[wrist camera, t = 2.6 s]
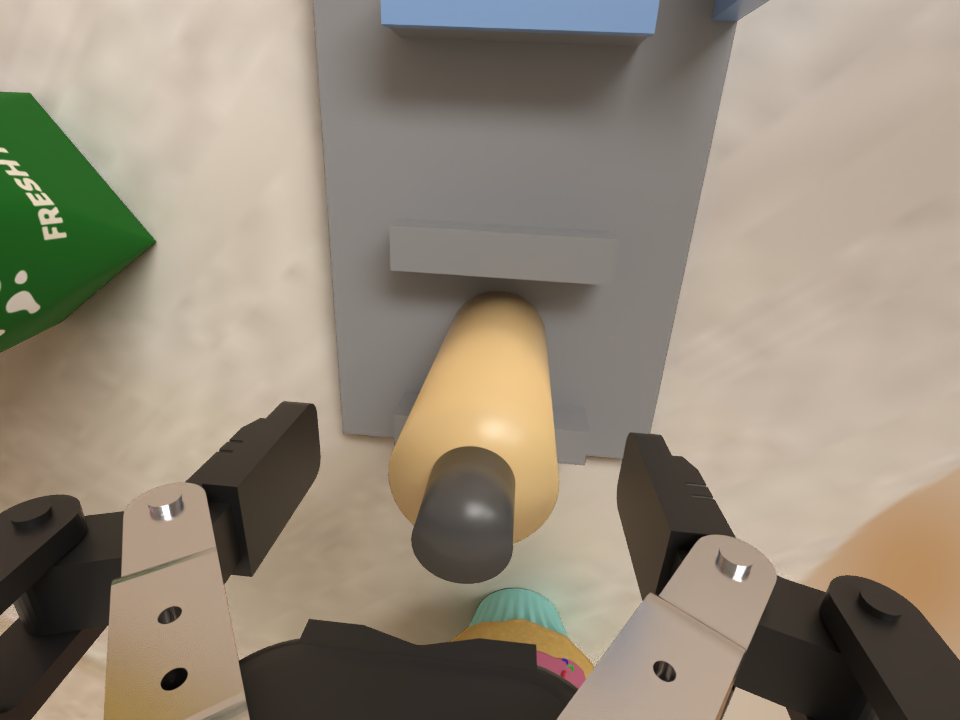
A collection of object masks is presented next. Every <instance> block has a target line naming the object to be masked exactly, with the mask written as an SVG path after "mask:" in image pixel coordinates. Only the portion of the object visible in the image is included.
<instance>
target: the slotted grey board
mask: <svg viewBox="0 0 960 720" xmlns="http://www.w3.org/2000/svg"><path fill="white" fill-rule="evenodd" d="M767 1H769V0H313V8H314V22H315V37H316V51H317V65H318V80H319V94H320V108H321V123H322V137H323V151H324V166H325V180H326V194H327V209H328V223H329V237H330V252H331V266H332V280H333V295H334V309H335V323H336V338H337V352H338V366H339V381H340V395H341V409H342V424H343V433H347V434H358V435H369V436H379V437H390V438H394V446H395V445H396V442H397V440H398V438H399V436H400V434H401V432H402V430H403V427H404V425H405V423H406V421H407V419H408V417H409V414H410V412H411V410H412V408H413V406H414V404H415V401H416V399H417V397H418V395H419V393H420V391H421V389H422V386H423V384H424V382H425V380H426V378H427V376H428V373H429V371H430V369H431V367H432V365H433V363H434V361H435V358H436V356H437V354H438V352H439V350H440V348H441V345H442V343H443V341H444V339H445V337H446V335H447V333H448V330H449V328H450V326H451V324H452V322H453V320H454V317H455V316H456V314H457V312H458V311H459V309H460V308H461V307H462V306H463V305H464V304H465V303H466V302H467V301H468V300H470V299H471V298H473V297H475V296H476V295H479V294H481V293H485V292H490V291H505V292H510V293H513V294H516V295H518V296H520V297H522V298H524V299H526V300H527V301H528V302H529V303H531V304H532V305H533V306H534V307H535V309H536V310H537V311H538V313H539V314H540V316H541V318H542V320H543V323H544V326H545V332H546V343H547V354H548V365H549V376H550V387H551V398H552V409H553V420H554V431H555V442H556V453H557V463H564V464H574V465H585V459H586V456H597V457H608V458H619V459H623V454H624V449H625V444H626V439H627V436H628V434H629V433H630V432H634V433H645V434H650V431H651V427H652V422H653V417H654V413H655V408H656V403H657V398H658V394H659V389H660V384H661V379H662V375H663V370H664V365H665V360H666V356H667V351H668V346H669V342H670V337H671V332H672V327H673V323H674V318H675V313H676V308H677V304H678V299H679V294H680V289H681V285H682V280H683V275H684V271H685V266H686V261H687V256H688V252H689V247H690V242H691V237H692V233H693V228H694V223H695V219H696V214H697V209H698V204H699V200H700V195H701V190H702V185H703V181H704V176H705V171H706V166H707V162H708V157H709V152H710V148H711V143H712V138H713V133H714V129H715V124H716V119H717V114H718V110H719V105H720V100H721V95H722V91H723V86H724V81H725V77H726V72H727V67H728V62H729V58H730V53H731V48H732V43H733V39H734V34H735V29H736V24H737V21H738V20H739V19H741V18H743V17H744V16H746V15H747V14H749V13H750V12H752V11H753V10H755V9H756V8H758V7H760V6H761V5H763V4H764V3H766V2H767Z"/></svg>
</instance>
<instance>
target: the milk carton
mask: <svg viewBox="0 0 960 720" xmlns="http://www.w3.org/2000/svg"><path fill="white" fill-rule="evenodd" d="M155 242H156V241H155V240H154V238H153V237H152V236H151V235H150V234H149V233H148V231H147V230H146V229H145V228H144V227H143V226H142V224H141V223H140V222H139V221H138V220H137V218H136V217H135V216H134V215H133V214H132V213H131V211H130V210H129V209H128V208H127V207H126V206H125V204H124V203H123V202H122V201H121V200H120V198H119V197H118V196H117V195H116V194H115V193H114V191H113V190H112V189H111V188H110V187H109V186H108V184H107V183H106V182H105V181H104V180H103V178H102V177H101V176H100V175H99V174H98V173H97V171H96V170H95V169H94V168H93V167H92V166H91V164H90V163H89V162H88V161H87V160H86V158H85V157H84V156H83V155H82V154H81V153H80V151H79V150H78V149H77V148H76V147H75V146H74V144H73V143H72V142H71V141H70V140H69V139H68V137H67V136H66V135H65V134H64V133H63V131H62V130H61V129H60V128H59V127H58V126H57V124H56V123H55V122H54V121H53V120H52V119H51V117H50V116H49V115H48V114H47V113H46V111H45V110H44V109H43V108H42V107H41V106H40V104H39V103H38V102H37V101H36V100H35V99H34V97H33V96H32V95H31V94H30V93H16V92H0V352H2V351H4V350H6V349H8V348H10V347H12V346H14V345H16V344H18V343H20V342H22V341H24V340H26V339H28V338H30V337H32V336H34V335H36V334H38V333H40V332H42V331H44V330H46V329H48V328H50V327H52V326H54V325H56V324H58V323H61V322H62V321H63V320H64V319H65V318H67V317H68V316H69V315H70V314H71V313H72V312H74V311H75V310H76V309H77V308H78V307H80V306H81V305H82V304H83V303H84V302H85V301H87V300H88V299H89V298H90V297H91V296H92V295H94V294H95V293H96V292H97V291H98V290H100V289H101V288H102V287H103V286H104V285H105V284H107V283H108V282H109V281H110V280H111V279H113V278H114V277H115V276H116V275H117V274H118V273H120V272H121V271H122V270H123V269H124V268H126V267H127V266H128V265H129V264H130V263H131V262H133V261H134V260H135V259H136V258H137V257H139V256H140V255H141V254H142V253H143V252H144V251H146V250H147V249H148V248H149V247H150V246H152V245H153V244H154V243H155Z"/></svg>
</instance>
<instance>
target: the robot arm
mask: <svg viewBox="0 0 960 720" xmlns="http://www.w3.org/2000/svg"><path fill="white" fill-rule="evenodd" d="M320 458H321V456H320V443H319V431H318V419H317V410H316V407H315V405H314V404H310V403H299V402H287V401H284V402H282V403H281V404H280V405H279V406H278V407H277V408H276V409H275V410H274V411H273V412H272V413H271V414H270V415H269V416H268V417H267V418H266V419H265V418H260V419H258V420H256V421H254V422H252V423H250V424H248V425H246V426H244V427H242V428H241V429H240V430H239V431H238V432H237V433H236V434H235V435H234V436H233V437H232V438H231V439H230V441H229V442H227V443H226V444H225V445H223V446H222V447H221V448H220V450H219V452H216V453H215V454H214V455H213V456H212V457H211V458H210V459H209V460H208V461H207V462H206V463H205V464H204V465H203V466H202V467H201V468H200V469H198V470H197V471H196V472H195V473H194V474H193V475H192V476H191V477H190V478H189V479H188V480H187V481H186V482H185V483H172V484H167V485H163V486H160V487H157V488H154V489H151V490H149V491H147V492H145V493H143V494H142V495H140V496H138V497H137V498H136V499H134V500H133V501H132V502H131V503H130V504H129V505H128V506H127V508H126V509H125V511H123V512H114V513H106V514H97V515H89V516H84V514H83V511H82V508H81V505H80V502H79V500H78V499H77V498H75V497H73V496H69V495H49V496H44V497H39V498H35V499H32V500H28V501H25V502H23V503H20V504H18V505H16V506H13V507H11V508H9V509H7V510H6V511H4V512H2V513H1V514H0V615H1V614H2V613H3V612H4V611H5V610H6V609H7V608H9V607H10V606H11V605H12V604H14V606H15V608H16V611H17V613H18V615H19V618H18V619H17V620H16V621H15V622H14V623H13V624H12V625H11V626H10V627H9V628H8V629H7V630H6V631H5V632H4V633H3V634H2V635H1V636H0V720H31V719H32V718H33V716H34V715H35V714H36V713H37V711H38V710H39V709H40V708H41V706H42V705H43V704H44V703H45V702H46V700H47V699H48V698H49V697H50V695H51V694H52V693H53V692H54V691H55V689H56V688H57V687H58V686H59V684H60V683H61V682H62V681H63V680H64V678H65V677H66V676H67V675H68V673H69V672H70V671H71V670H72V669H73V667H74V666H75V665H76V664H77V662H78V661H79V660H80V659H81V657H82V656H83V655H84V654H85V653H86V651H87V650H88V649H89V648H90V646H91V645H92V644H93V643H94V642H95V640H96V639H97V638H98V637H99V635H100V634H101V633H102V632H103V631H104V629H105V628H106V627H107V625H109V631H108V650H107V668H106V686H105V704H104V720H722V719H723V717H724V714H725V712H726V709H727V707H728V705H729V703H730V700H731V698H732V695H733V693H734V691H735V688H736V687H738V688H740V689H743V690H745V691H748V692H750V693H753V694H755V695H758V696H760V697H762V698H765V699H767V700H770V701H772V702H775V703H777V704H779V705H782V706H784V707H786V709H787V711H788V713H789V716H790V718H791V720H960V660H959V659H958V658H957V657H956V655H955V654H954V653H953V652H952V650H951V649H950V648H949V647H948V646H947V644H946V643H945V642H944V640H943V639H942V638H941V637H940V635H939V634H938V633H937V632H936V631H935V629H934V628H933V627H932V626H931V624H930V623H929V622H928V621H927V619H926V618H925V617H924V616H923V614H922V613H921V612H920V611H919V610H918V609H917V608H916V607H915V606H914V605H913V604H912V603H911V602H909V601H908V600H907V599H905V598H904V597H903V596H901V595H900V594H898V593H897V592H895V591H893V590H892V589H890V588H888V587H886V586H884V585H882V584H880V583H877V582H875V581H872V580H869V579H866V578H863V577H858V576H850V575H849V576H848V575H846V576H839V577H836V578H835V579H833V580H832V581H831V582H830V585H829V587H828V589H827V592H823V591H820V590H817V589H814V588H811V587H808V586H805V585H802V584H799V583H795V582H792V581H789V580H787V579H784V578H782V577H779V576H777V575H776V571H775V568H774V567H773V565H772V563H771V562H770V561H769V559H768V558H767V557H766V556H765V555H764V554H763V553H761V552H760V551H759V550H758V549H756V548H754V547H753V546H751V545H750V544H748V543H746V542H744V541H741V540H739V539H736V537H735V535H734V534H733V532H732V530H731V528H730V526H729V525H728V523H727V521H726V519H725V517H724V516H723V514H722V512H721V510H720V508H719V507H718V505H717V503H716V501H715V500H714V499H713V496H712V494H711V492H710V491H709V489H708V487H706V483H705V482H704V480H703V478H702V476H701V474H700V473H699V471H698V470H697V469H696V468H695V467H694V466H693V465H692V464H690V463H689V462H688V461H687V460H686V459H684V458H683V457H681V456H672V455H671V453H670V451H669V449H668V447H667V445H666V443H665V441H664V439H663V437H662V436H661V435H657V434H645V433H634V432H630V433H629V434H628V436H627V439H626V444H625V449H624V454H623V459H622V464H621V469H620V474H619V480H618V485H617V506H618V511H619V515H620V519H621V522H622V526H623V530H624V534H625V537H626V541H627V545H628V549H629V552H630V556H631V560H632V563H633V567H634V571H635V575H636V578H637V582H638V586H639V590H640V593H641V597H642V601H643V602H642V603H641V604H640V606H639V607H638V608H637V610H636V611H635V612H634V614H633V615H632V617H631V618H630V619H629V621H628V622H627V623H626V625H625V626H624V628H623V629H622V630H621V632H620V633H619V634H618V636H617V637H616V639H615V640H614V641H613V643H612V644H611V645H610V647H609V648H608V650H607V651H606V652H605V654H604V655H603V656H602V658H601V659H600V661H599V662H598V663H597V665H596V666H595V667H594V669H593V670H592V672H591V673H590V674H589V676H588V677H587V678H586V680H585V681H584V682H583V684H582V685H581V687H580V688H579V689H578V688H577V687H576V686H575V685H573V684H572V683H571V682H569V681H568V680H566V679H565V678H563V677H562V676H560V675H558V674H556V673H554V672H552V671H551V670H549V669H547V668H544V667H541V666H539V665H537V650H536V644H527V643H518V642H509V641H500V640H491V639H482V638H477V639H469V640H461V641H454V642H446V643H438V644H430V645H415V644H412V643H409V642H406V641H404V640H401V639H399V638H396V637H393V636H391V635H388V634H385V633H383V632H380V631H378V630H375V629H372V628H370V627H367V626H365V625H357V624H348V623H340V622H331V621H322V620H313V619H309V621H308V623H307V625H306V627H305V629H304V631H303V633H302V636H301V638H300V639H294V640H290V641H285V642H281V643H278V644H275V645H272V646H269V647H266V648H264V649H261V650H259V651H257V652H255V653H253V654H250V655H248V656H247V657H245V658H243V659H241V660H240V661H239V659H238V654H237V649H236V644H235V639H234V634H233V629H232V623H231V618H230V613H229V608H228V603H227V598H226V593H225V588H224V584H225V583H226V581H227V580H228V578H229V577H230V575H240V576H249V577H252V576H253V575H254V573H255V572H256V570H257V569H258V567H259V565H260V564H261V562H262V561H263V559H264V558H265V556H266V555H267V553H268V552H269V550H270V548H271V547H272V545H273V544H274V542H275V541H276V539H277V538H278V536H279V535H280V533H281V531H282V530H283V528H284V527H285V525H286V524H287V522H288V521H289V519H290V518H291V516H292V514H293V513H294V511H295V510H296V508H297V507H298V505H299V504H300V502H301V501H302V499H303V497H304V496H305V494H306V493H307V491H308V490H309V488H310V487H311V485H312V484H313V482H314V480H315V479H316V477H317V474H318V471H319V467H320Z"/></svg>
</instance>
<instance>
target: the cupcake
mask: <svg viewBox="0 0 960 720" xmlns="http://www.w3.org/2000/svg"><path fill="white" fill-rule="evenodd" d="M477 638H482V639H491V640H500V641H509V642H518V643H527V644H536V650H537V665H539V666H541V667H544V668H547V669H549V670H551V671H552V672H554V673H556V674H558V675H560V676H562V677H563V678H565V679H566V680H568V681H569V682H571V683H572V684H573V685H575V686H576V687H577V688H578V689H579V688H580V687H581V685H582V684H583V682H584V681H585V680H586V678H587V677H588V676H589V674H590V673H591V672H592V670H593V669H594V666H593V664H592V663H591V662H590V660H589V659H588V658H587V657H586V656H585V655H584V654H583V653H582V652H581V651H580V650H579V649H578V648H577V647H575V645H574V644H573V643H572V642H571V641H570V639H569V638H568V636H567V634H566V631H565V629H564V627H563V624H562V622H561V619H560V617H559V614H558V612H557V610H556V608H555V607H554V605H553V604H552V603H551V602H550V601H549V600H548V599H546V598H545V597H543V596H542V595H540V594H538V593H536V592H533V591H530V590H526V589H519V588H510V589H503V590H500V591H497V592H494V593H492V594H490V595H489V596H487V597H486V598H485V599H484V600H483V601H482V602H481V603H480V605H479V606H478V608H477V610H476V613H475V615H474V617H473V619H472V621H471V623H470V625H469V627H468V628H466V629H465V630H464V631H463V632H461V633H460V634H459V635H458V636H456V637H455V638H454V639H452V640H451V641H450V642H454V641H461V640H469V639H477Z"/></svg>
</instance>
